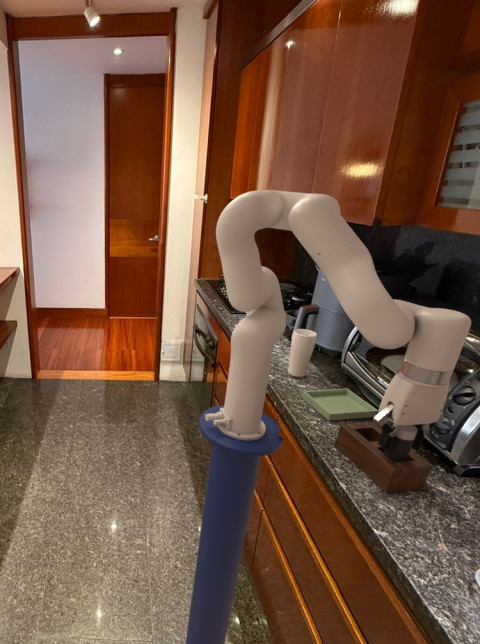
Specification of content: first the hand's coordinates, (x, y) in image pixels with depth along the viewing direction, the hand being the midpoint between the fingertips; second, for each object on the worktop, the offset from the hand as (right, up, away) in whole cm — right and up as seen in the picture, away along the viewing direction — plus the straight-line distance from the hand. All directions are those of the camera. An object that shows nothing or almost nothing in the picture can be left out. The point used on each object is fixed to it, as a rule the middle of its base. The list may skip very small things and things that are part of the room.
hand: (398, 446), depth 82 cm
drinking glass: (+3, +11, +47) cm, 48 cm away
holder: (0, -6, +6) cm, 9 cm away
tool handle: (0, -7, +3) cm, 8 cm away
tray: (+5, +3, +29) cm, 29 cm away
